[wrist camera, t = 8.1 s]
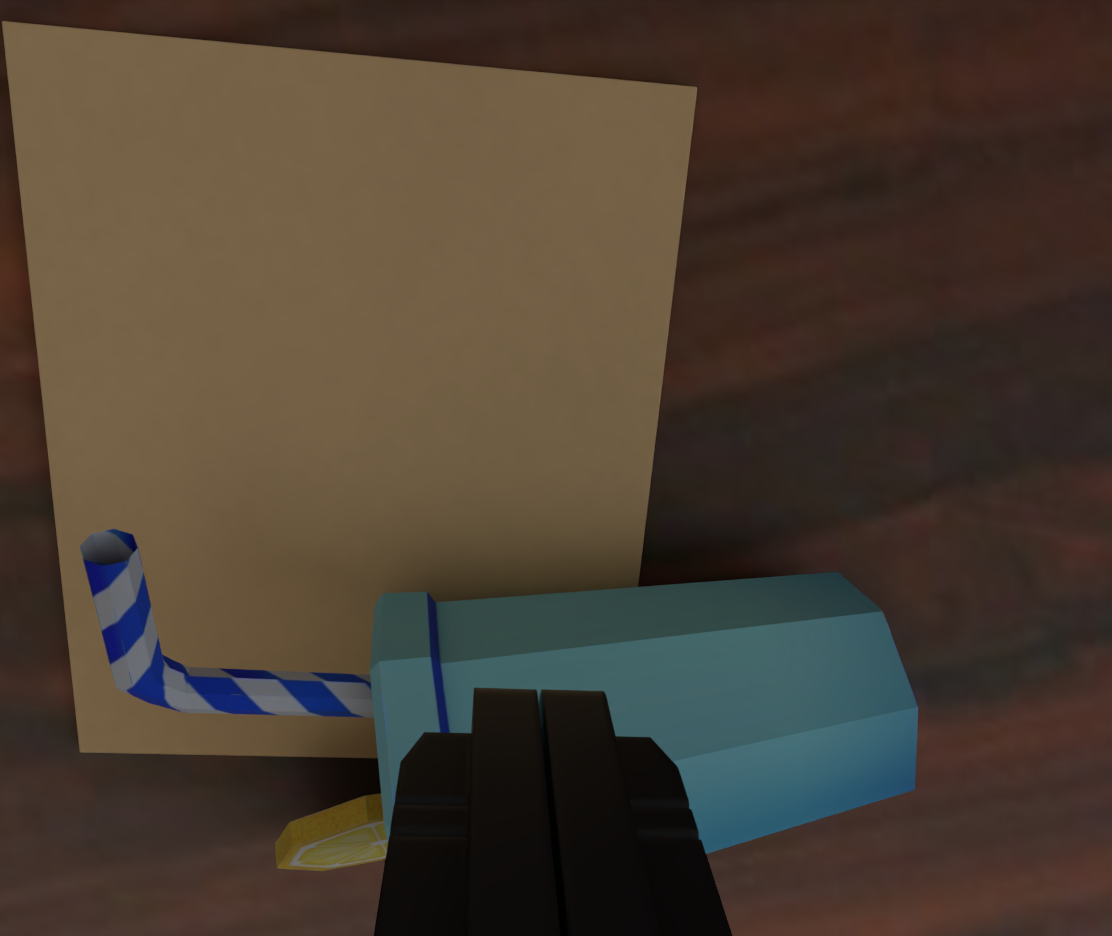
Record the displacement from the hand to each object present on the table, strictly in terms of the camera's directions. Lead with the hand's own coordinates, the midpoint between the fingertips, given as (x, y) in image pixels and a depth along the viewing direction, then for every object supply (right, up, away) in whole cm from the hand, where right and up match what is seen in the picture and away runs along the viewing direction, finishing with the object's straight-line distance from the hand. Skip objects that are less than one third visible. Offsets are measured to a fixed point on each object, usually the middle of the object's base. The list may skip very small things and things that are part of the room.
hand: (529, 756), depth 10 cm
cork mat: (-4, +4, +11) cm, 12 cm away
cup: (+8, -1, +10) cm, 12 cm away
